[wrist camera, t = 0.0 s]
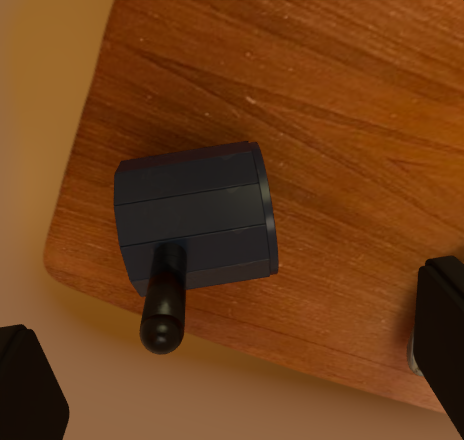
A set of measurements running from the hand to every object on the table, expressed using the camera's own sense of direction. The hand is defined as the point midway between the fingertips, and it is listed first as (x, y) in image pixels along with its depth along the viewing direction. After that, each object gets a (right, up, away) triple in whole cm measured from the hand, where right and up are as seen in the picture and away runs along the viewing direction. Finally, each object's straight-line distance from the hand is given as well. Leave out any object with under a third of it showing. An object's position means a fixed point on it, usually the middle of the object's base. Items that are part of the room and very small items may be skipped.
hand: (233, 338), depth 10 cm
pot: (-3, +5, +26) cm, 27 cm away
